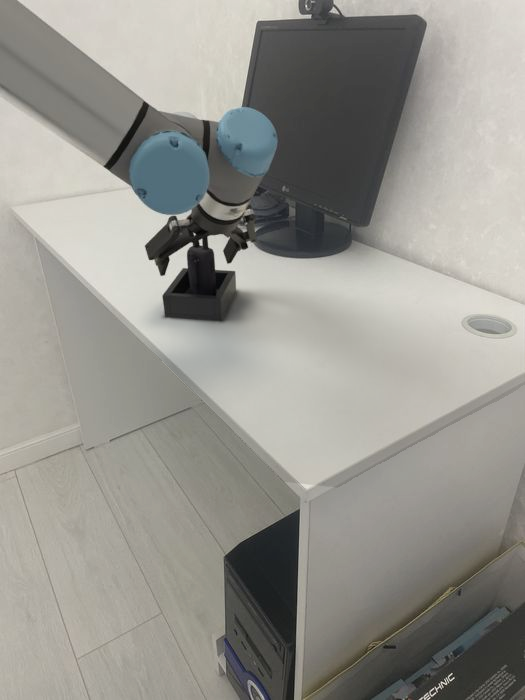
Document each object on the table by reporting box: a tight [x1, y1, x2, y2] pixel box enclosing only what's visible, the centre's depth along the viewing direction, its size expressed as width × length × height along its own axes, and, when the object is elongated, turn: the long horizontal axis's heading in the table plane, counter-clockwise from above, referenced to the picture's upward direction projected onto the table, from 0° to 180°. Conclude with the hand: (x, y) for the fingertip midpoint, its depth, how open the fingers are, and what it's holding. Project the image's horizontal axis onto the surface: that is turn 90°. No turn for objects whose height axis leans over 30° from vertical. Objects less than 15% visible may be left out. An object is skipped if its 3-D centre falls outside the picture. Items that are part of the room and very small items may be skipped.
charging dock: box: [161, 267, 237, 322], centre depth 95 cm, size 10×12×4 cm
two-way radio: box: [186, 236, 216, 296], centre depth 92 cm, size 6×4×15 cm
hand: (194, 262), depth 95 cm, fingers open, 12 cm apart
